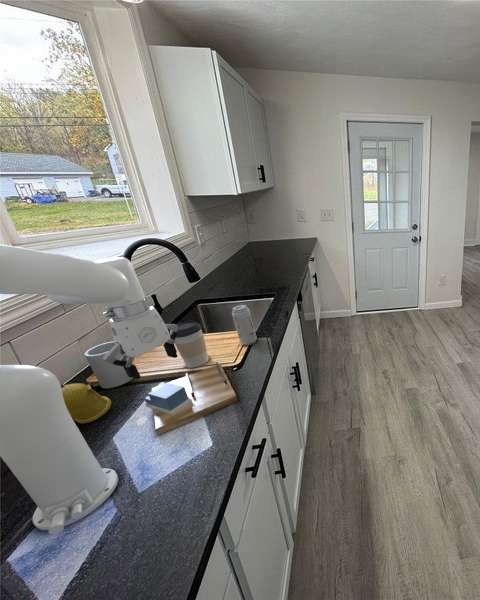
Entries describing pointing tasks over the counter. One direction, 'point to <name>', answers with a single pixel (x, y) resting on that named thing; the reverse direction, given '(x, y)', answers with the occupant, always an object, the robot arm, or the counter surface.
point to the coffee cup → (191, 344)
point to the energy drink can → (244, 325)
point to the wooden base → (198, 397)
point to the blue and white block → (168, 399)
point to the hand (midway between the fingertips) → (155, 366)
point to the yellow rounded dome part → (84, 402)
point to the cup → (106, 366)
